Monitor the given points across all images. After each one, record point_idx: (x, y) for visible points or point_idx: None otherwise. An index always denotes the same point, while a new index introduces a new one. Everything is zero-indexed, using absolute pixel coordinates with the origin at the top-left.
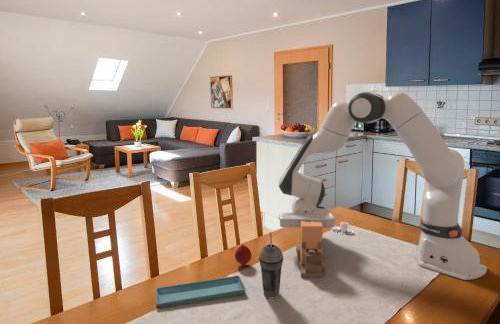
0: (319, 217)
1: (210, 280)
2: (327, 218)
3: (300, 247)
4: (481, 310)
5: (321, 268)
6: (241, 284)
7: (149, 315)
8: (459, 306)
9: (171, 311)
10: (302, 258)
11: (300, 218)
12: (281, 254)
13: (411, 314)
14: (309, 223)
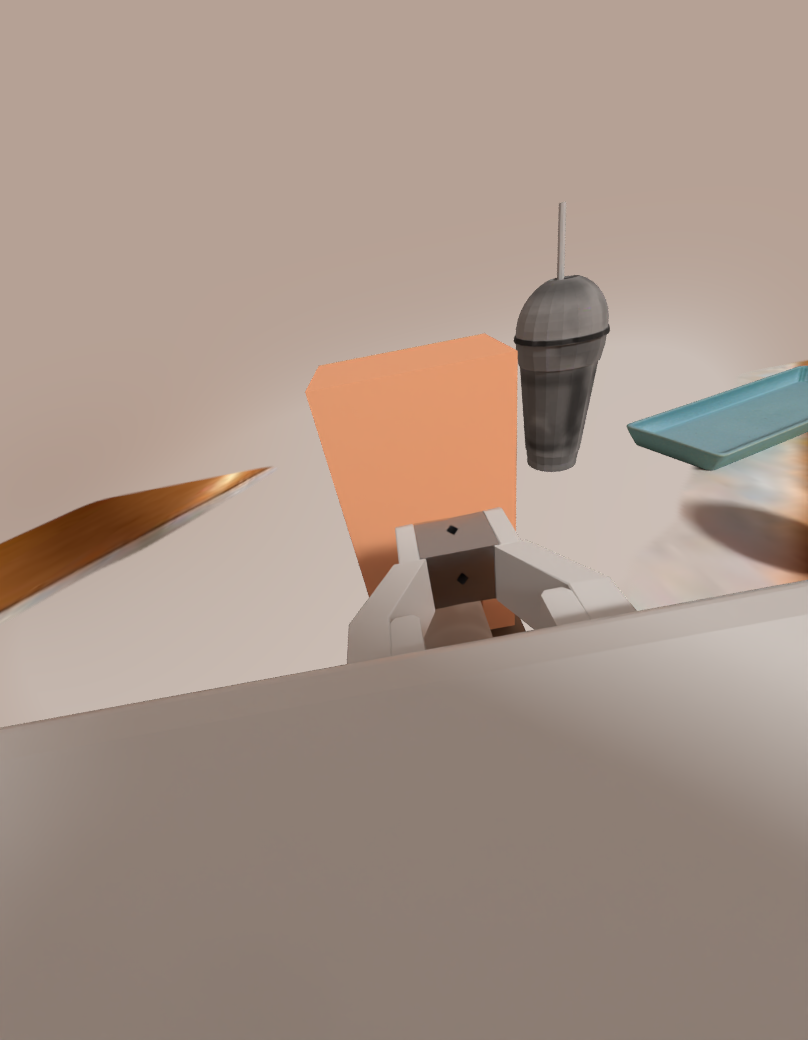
0: (170, 776)
1: (796, 424)
2: (17, 739)
3: None
4: (50, 522)
5: None
6: (665, 440)
7: (781, 371)
8: (80, 523)
9: None
10: None
11: (680, 614)
12: (519, 316)
13: (216, 483)
14: (424, 360)
